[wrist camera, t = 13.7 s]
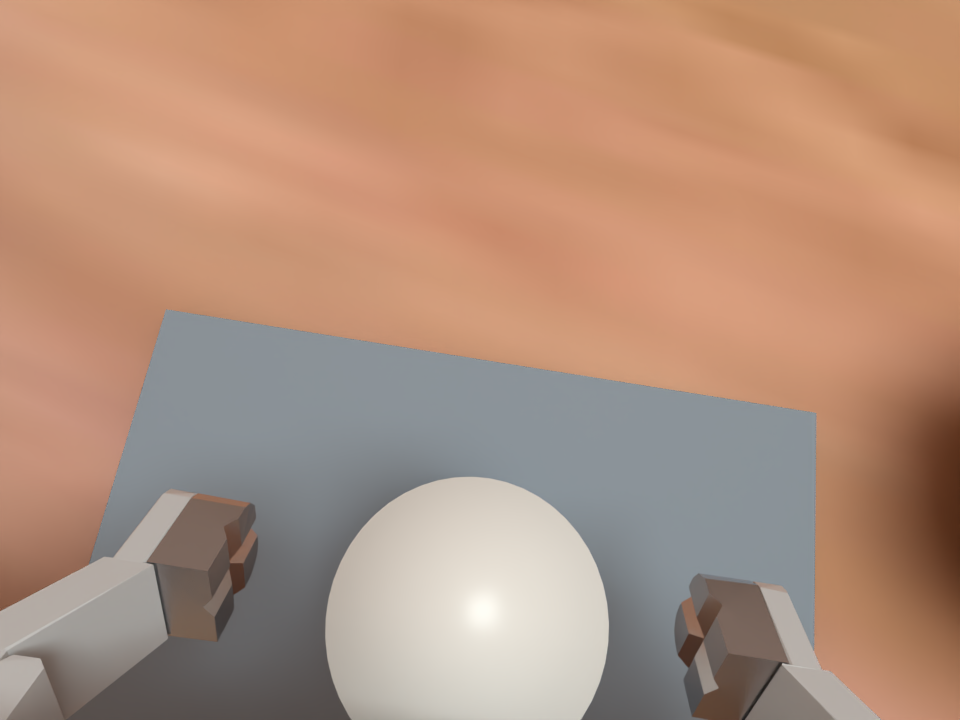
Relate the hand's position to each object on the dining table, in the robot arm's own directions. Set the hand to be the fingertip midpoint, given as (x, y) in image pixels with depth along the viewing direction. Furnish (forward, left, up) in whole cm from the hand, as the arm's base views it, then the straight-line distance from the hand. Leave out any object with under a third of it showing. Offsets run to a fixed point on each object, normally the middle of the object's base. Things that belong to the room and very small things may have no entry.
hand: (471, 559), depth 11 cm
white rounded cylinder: (0, +1, -6) cm, 6 cm away
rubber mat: (0, +1, -7) cm, 7 cm away
